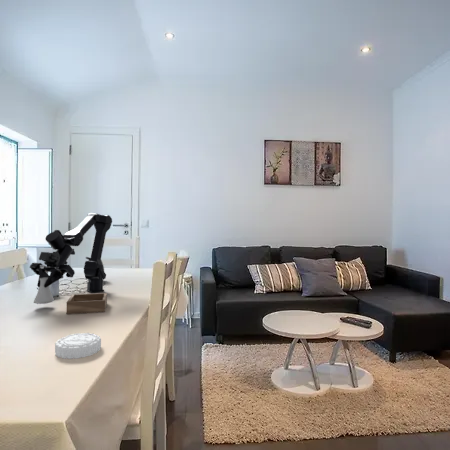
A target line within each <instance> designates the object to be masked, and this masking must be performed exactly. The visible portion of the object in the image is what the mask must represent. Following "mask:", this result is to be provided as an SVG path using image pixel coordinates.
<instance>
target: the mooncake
mask: <svg viewBox="0 0 450 450" xmlns="http://www.w3.org/2000/svg"><path fill="white" fill-rule="evenodd" d="M101 348H102V338H101V337H100V335H98V334H94V333H90V332H84V333H79V332H78V333H76V332H75V333H72V334H68V335H66V336H63V337H61V338H59V339H57V340H56V342H55V343H54V353H55V356H57V358H61V359H67V360H73V359H81V358H86V357H89V356H93V355H94V354H97V353H98V352H99V351H100V350H101Z"/></svg>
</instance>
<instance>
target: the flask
mask: <svg viewBox="0 0 450 450" xmlns="http://www.w3.org/2000/svg"><path fill="white" fill-rule="evenodd" d="M47 279H48V278H47V277H44V278H40V287H38V291H37V294H36V295H35V298H34V301H33V304H37V305H41V304H42V305H45V304H50V303H53V302H54V301H55V298H54V296H52V294H51V291H50V289H49V286H48V287H46V288H45V287H44V284H45V282H46V281H47Z"/></svg>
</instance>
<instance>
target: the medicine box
mask: <svg viewBox="0 0 450 450" xmlns="http://www.w3.org/2000/svg"><path fill="white" fill-rule="evenodd" d="M49 289H50V291H51V294H52V296H53V297H56V296H59V295H60V279H59V280H57V281H56V282H54V283H52V284H51V285H49Z"/></svg>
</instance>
